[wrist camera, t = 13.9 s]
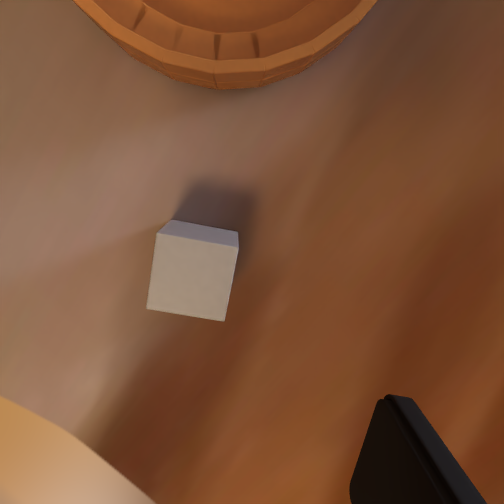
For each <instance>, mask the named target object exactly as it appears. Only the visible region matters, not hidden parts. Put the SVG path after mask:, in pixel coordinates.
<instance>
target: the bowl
mask: <svg viewBox="0 0 504 504" xmlns="http://www.w3.org/2000/svg"><path fill="white" fill-rule="evenodd" d="M72 1H73V2H74V3H75V4H76V5H77V6H78V7H79V8H80V9H81V10H82V11H83V12H84V13H85V14H86V15H87V16H88V17H89V18H90V19H91V20H92V21H93V22H94V23H95V24H96V25H97V26H98V27H99V28H100V29H101V30H103V31H104V32H105V33H106V34H107V35H108V36H109V37H110V38H111V39H112V40H114V41H115V42H116V43H117V44H118V45H119V46H120V47H121V48H122V49H123V50H125V51H126V52H127V53H128V54H129V55H130V56H131V57H133V58H134V59H135V60H137V61H139V62H141V63H143V64H145V65H147V66H149V67H151V68H152V69H154V70H156V71H158V72H160V73H162V74H164V75H166V76H167V77H169V78H171V79H175V80H176V81H181V82H185V83H189V84H194V85H198V86H203V87H207V88H211V89H218V90H222V89H239V88H256V87H259V86H260V87H262V86H265V85H268V84H271V83H274V82H276V81H279V80H282V79H285V78H288V77H291V76H293V75H296V74H299V73H300V72H302V71H304V70H305V69H307V68H308V67H309V66H311V65H312V64H314V63H315V62H317V61H318V60H319V59H321V58H322V57H324V56H325V55H327V54H328V53H329V52H331V51H332V50H334V49H335V48H336V47H337V46H338V45H339V44H340V43H341V42H342V41H343V40H344V39H345V38H346V36H347V35H348V34H349V33H350V32H351V31H352V30H353V29H354V28H355V26H356V25H357V24H358V23H359V22H360V21H361V20H362V18H363V17H364V16H365V15H366V14H367V13H368V11H369V10H370V9H371V8H372V7H373V5H374V4H375V3H376V2H377V1H378V0H72Z"/></svg>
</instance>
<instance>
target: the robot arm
mask: <svg viewBox="0 0 504 504" xmlns="http://www.w3.org/2000/svg"><path fill="white" fill-rule="evenodd" d="M349 490H350V499H351V503H352V504H487V503H486V502H485V500H484V499H483V498H482V496H481V495H480V493H479V492H478V490H477V489H476V488H475V486H474V485H473V483H472V482H471V481H470V479H469V478H468V476H467V475H466V474H465V472H464V471H463V469H462V468H461V466H460V465H459V464H458V462H457V461H456V459H455V458H454V457H453V455H452V454H451V452H450V451H449V450H448V448H447V447H446V445H445V444H444V442H443V441H442V440H441V438H440V437H439V435H438V434H437V433H436V431H435V430H434V428H433V427H432V426H431V424H430V423H429V421H428V420H427V418H426V417H425V416H424V414H423V413H422V411H421V410H420V409H419V407H418V406H417V404H416V403H415V402H414V400H413V399H411V398H408V397H402V396H396V395H390V394H388V395H386V396H385V397H384V399H380V400H378V402H377V404H376V407H375V410H374V413H373V416H372V419H371V422H370V425H369V428H368V431H367V434H366V437H365V440H364V443H363V446H362V449H361V452H360V455H359V458H358V461H357V464H356V467H355V470H354V473H353V476H352V479H351V482H350V489H349Z"/></svg>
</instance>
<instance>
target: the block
mask: <svg viewBox="0 0 504 504" xmlns="http://www.w3.org/2000/svg"><path fill="white" fill-rule="evenodd" d="M238 250H239V242H238V232H236V231H230V230H225V229H220V228H214V227H209V226H204V225H198V224H193V223H188V222H182V221H177V220H170V221H169V222H168V223H167V224H166V225H165V226H163V227H162V228H161V229H160V230H159V231H158V232H157V233H156V239H155V247H154V254H153V261H152V268H151V275H150V283H149V290H148V297H147V304H146V309H150V310H156V311H162V312H168V313H174V314H181V315H187V316H193V317H199V318H205V319H211V320H217V321H225V316H226V311H227V306H228V301H229V296H230V291H231V286H232V281H233V275H234V270H235V265H236V260H237V255H238Z"/></svg>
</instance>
